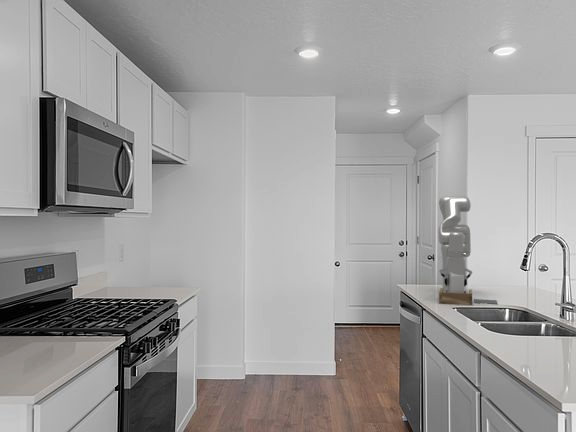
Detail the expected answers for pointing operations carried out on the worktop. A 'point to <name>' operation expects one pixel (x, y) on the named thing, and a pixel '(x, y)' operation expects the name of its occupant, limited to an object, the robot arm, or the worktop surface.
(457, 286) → the milk carton
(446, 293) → the rack
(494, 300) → the mat
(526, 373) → the worktop surface
